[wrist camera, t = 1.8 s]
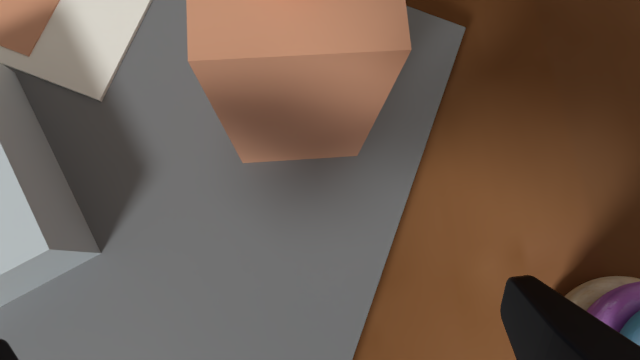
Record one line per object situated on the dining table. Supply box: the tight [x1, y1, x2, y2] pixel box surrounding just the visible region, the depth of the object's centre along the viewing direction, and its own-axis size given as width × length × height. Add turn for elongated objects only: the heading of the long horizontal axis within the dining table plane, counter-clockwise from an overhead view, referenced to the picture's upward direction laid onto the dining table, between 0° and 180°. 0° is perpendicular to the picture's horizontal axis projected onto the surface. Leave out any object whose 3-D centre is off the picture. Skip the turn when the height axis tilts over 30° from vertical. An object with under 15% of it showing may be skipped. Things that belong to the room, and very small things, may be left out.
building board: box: [0, 0, 466, 360], centre depth 21 cm, size 26×24×3 cm
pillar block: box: [186, 0, 412, 163], centre depth 15 cm, size 5×5×11 cm
